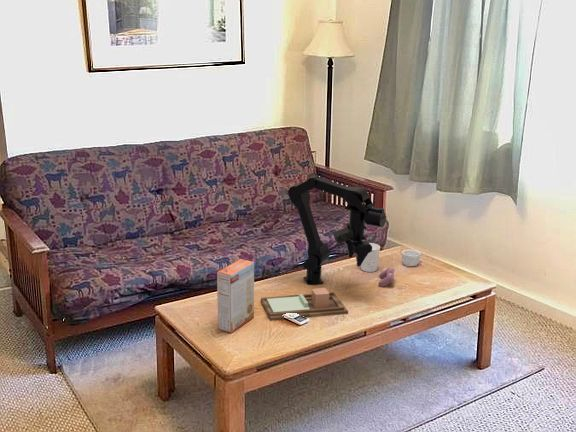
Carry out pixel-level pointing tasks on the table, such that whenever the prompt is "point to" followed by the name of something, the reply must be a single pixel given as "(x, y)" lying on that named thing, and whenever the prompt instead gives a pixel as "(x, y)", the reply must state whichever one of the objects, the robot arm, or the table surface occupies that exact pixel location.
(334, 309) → the board
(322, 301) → the block
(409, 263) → the teacup
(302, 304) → the lid
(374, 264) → the white cup
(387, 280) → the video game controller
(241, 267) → the cracker box
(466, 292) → the table surface
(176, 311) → the table surface
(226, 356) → the table surface
